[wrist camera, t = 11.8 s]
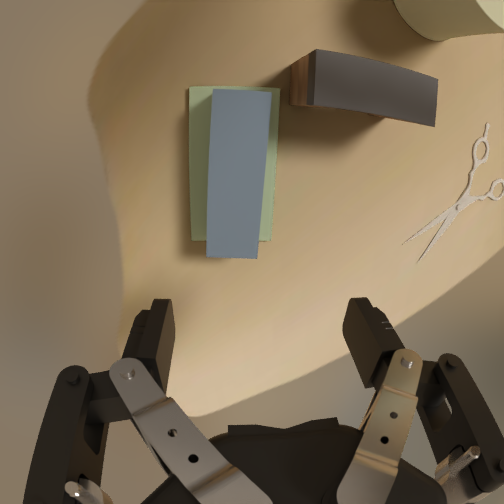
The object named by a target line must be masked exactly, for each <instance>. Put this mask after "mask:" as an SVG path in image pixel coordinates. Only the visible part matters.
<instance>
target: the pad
mask: <svg viewBox="0 0 504 504" xmlns="http://www.w3.org/2000/svg"><path fill="white" fill-rule="evenodd" d="M213 89H233V90H250V91H262V92H272V99H271V111H270V122H269V133H268V145H267V156H266V167H265V178H264V189H263V200H262V211H261V222H260V233H259V241H271V237H272V222H273V207H274V192H275V176H276V159H277V142H278V123H279V104H280V88H269V87H247V86H192V87H190V88H189V185H190V217H191V239H192V241H207V198H208V169H209V146H210V127H211V110H212V94H213Z"/></svg>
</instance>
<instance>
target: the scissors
mask: <svg viewBox="0 0 504 504" xmlns="http://www.w3.org/2000/svg"><path fill="white" fill-rule="evenodd" d="M489 127H490V125H489V123H486V124H485V131H484V135H483V137H480V138H478V139H477V140H476V142H475V143H474V145H473V151H472V155H473V168H472V170H471V171H470V172H469V182H468V185H467V187H466V188H465V190H464V191H463V193H462V194H461V196H460V197H459V199H458V200H457V202H456V203H455V204H454V205H452V206H451V207H450V208H448V209H447V210H446V211H444V212H443V213H442V214H440V215H439V216H438V217H436V218H435V219H434V220H432V221H431V222H430V223H429V224H427V225H426V226H425V227H424V228H422V229H421V230H420V231H418V232H417V233H416V234H414V235H413V236H412V237H410V238H409V239H408V240H407V241H406V242H408V241H410V240H411V239H413V238H415V237H417V236H418V235H420V234H422V233H423V232H425V231H427V230H428V229H430V228H432V227H433V226H435V225H436V224H438V223H440V222H442V221H443V220H445V219H446V220H445V221H444V223H443V225H442V226H441V228H440V229H439V231H438V232H437V234H436V236H435V237H434V239H433V240H432V242H431V243H430V245H429V246H428V248H427V250H426V251H425V253H424V254H423V256H424V255H425V254H426V253H427V252H428V251H429V250H430V248H431V247H432V246H433V245H434V244H435V243H436V241H437V240H438V239H439V238H440V237H441V235H442V234H443V233H444V232H445V230H446V229H447V228H448V226H449V225H450V224H451V222H452V221H453V220H454V218H455V217H456V216H457V214H458V213H459V212H460V211H461V210H463V209H464V208H466V207H467V206H468V205H470V204H471V203H473V202H474V201H476V200H478V199H480V200H482V201H483V200H484V199H485V198H486V197H487V196H488V197H490V198H491V199H493V200H499V199H501V197H502V196H503V195H504V180H503V179H501V178H500V179H496V180H494V181H493V182H492V185H491V188H490V191H488V192H487V193H486V194H485V195H481V196H474V195H469V194H470V189H471V184H472V179H473V175H474V172H475V170H476V168H477V167H478V166H479V164H481V163H486V160H487V158H488V154H489V143H488V141H487V133H488V130H489ZM481 141H483V142H485V145H486V152H485V155H484V156H483V158H482V159H481V160H478V158H477V156H476V149H477V146H478V144H479V143H480V142H481ZM500 182H502V184H503V191H502V193H501V194H500V195H499V197H494V195H493V189H494V187H495V186H496V185H497V184H498V183H500ZM406 242H405V243H406ZM403 244H404V243H403ZM403 244H402V245H403ZM423 256H422V257H421V258H420V260H421V259H422V258H423ZM420 260H419V261H420ZM419 261H418V262H419Z"/></svg>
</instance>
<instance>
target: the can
mask: <svg viewBox="0 0 504 504" xmlns="http://www.w3.org/2000/svg"><path fill="white" fill-rule="evenodd" d="M394 3H395V6H396V8H397V10H398V12H399V13H400V15H401V16H402V18H403V19H404V20H405V22H406V23H407V24H408V25H409V26H410V27H411V28H412V29H413V30H415V31H416V32H417V33H419V34H420V35H422V36H423V37H425V38H428V39H430V40H434V41H444V40H448V39H450V38H455V37H462V36H469V35H479V34H491V33H504V0H394Z"/></svg>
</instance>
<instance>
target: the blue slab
mask: <svg viewBox="0 0 504 504" xmlns="http://www.w3.org/2000/svg"><path fill="white" fill-rule="evenodd" d="M271 99H272V92H262V91H250V90H233V89H213V94H212V110H211V127H210V146H209V169H208V198H207V247H206V257H220V258H251V259H257V254H258V243H259V233H260V222H261V211H262V200H263V189H264V178H265V167H266V156H267V145H268V133H269V122H270V111H271Z"/></svg>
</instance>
